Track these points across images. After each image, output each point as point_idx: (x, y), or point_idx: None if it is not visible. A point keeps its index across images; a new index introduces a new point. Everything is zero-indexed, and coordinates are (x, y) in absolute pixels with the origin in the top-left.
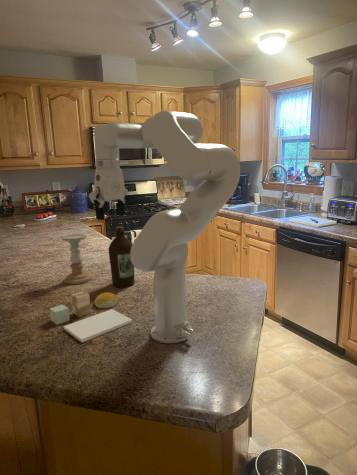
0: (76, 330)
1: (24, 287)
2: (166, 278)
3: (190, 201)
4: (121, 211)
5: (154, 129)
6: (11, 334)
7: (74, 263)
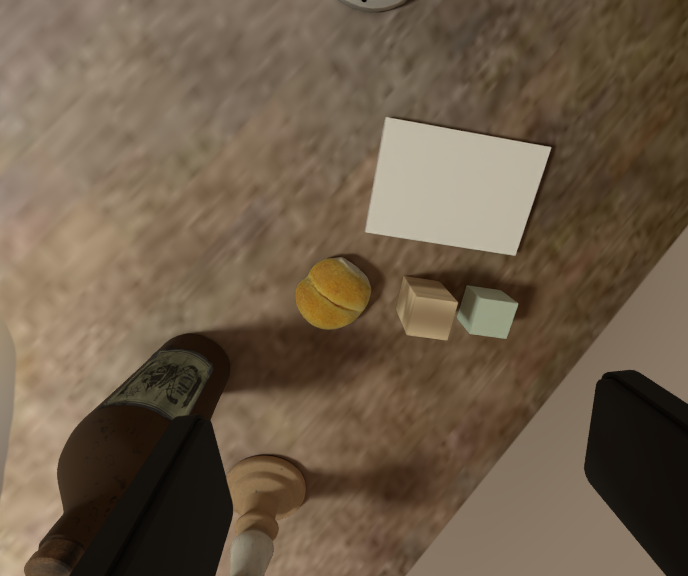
0: (517, 205)
1: (387, 535)
2: None
3: None
4: (195, 478)
5: None
6: (584, 333)
7: (267, 534)
